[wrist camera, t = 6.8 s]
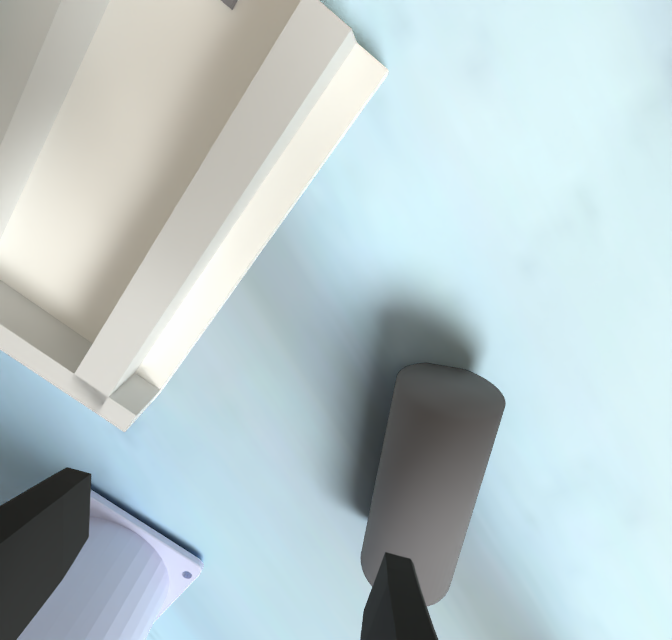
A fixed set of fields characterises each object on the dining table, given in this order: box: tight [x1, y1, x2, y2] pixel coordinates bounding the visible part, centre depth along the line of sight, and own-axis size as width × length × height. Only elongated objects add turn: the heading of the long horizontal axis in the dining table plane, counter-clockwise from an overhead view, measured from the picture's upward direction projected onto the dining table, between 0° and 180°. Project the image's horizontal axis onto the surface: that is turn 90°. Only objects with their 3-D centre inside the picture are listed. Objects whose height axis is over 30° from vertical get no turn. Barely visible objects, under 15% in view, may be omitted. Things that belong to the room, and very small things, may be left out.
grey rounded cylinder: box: [361, 363, 505, 606], centre depth 19 cm, size 9×4×4 cm
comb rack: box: [0, 0, 389, 432], centre depth 16 cm, size 16×18×3 cm
